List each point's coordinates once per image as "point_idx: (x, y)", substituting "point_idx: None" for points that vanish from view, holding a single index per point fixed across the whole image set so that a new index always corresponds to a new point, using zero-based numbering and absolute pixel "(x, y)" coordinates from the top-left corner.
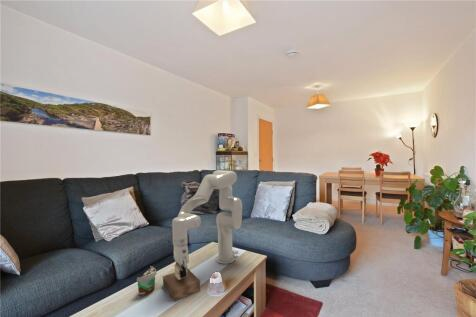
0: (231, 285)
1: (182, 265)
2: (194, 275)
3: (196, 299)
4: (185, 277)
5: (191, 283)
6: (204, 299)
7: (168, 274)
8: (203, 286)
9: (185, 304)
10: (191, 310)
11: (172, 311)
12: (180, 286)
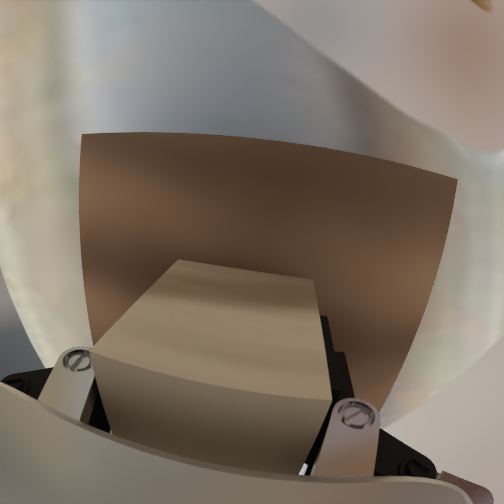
0: (487, 2)
1: (239, 445)
2: (307, 151)
3: (462, 265)
4: (259, 265)
5: (421, 283)
6: (498, 226)
7: (94, 344)
8: (383, 115)
9: (436, 340)
10: (489, 336)
11: (412, 405)
12: (365, 379)
